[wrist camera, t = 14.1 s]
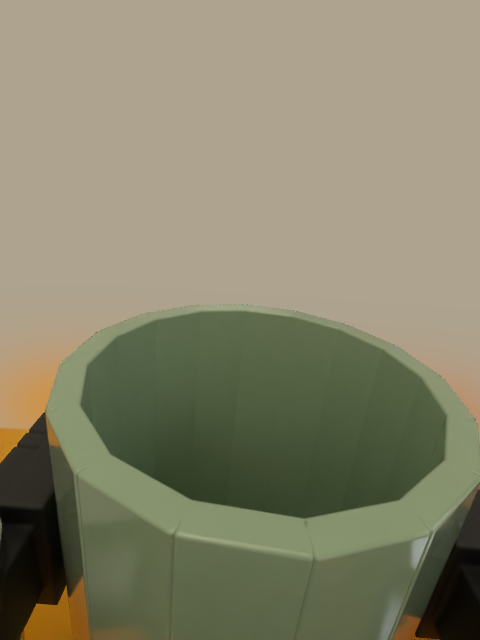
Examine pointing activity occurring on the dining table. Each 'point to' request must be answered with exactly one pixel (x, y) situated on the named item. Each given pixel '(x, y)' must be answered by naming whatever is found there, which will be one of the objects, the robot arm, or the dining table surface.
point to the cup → (254, 478)
